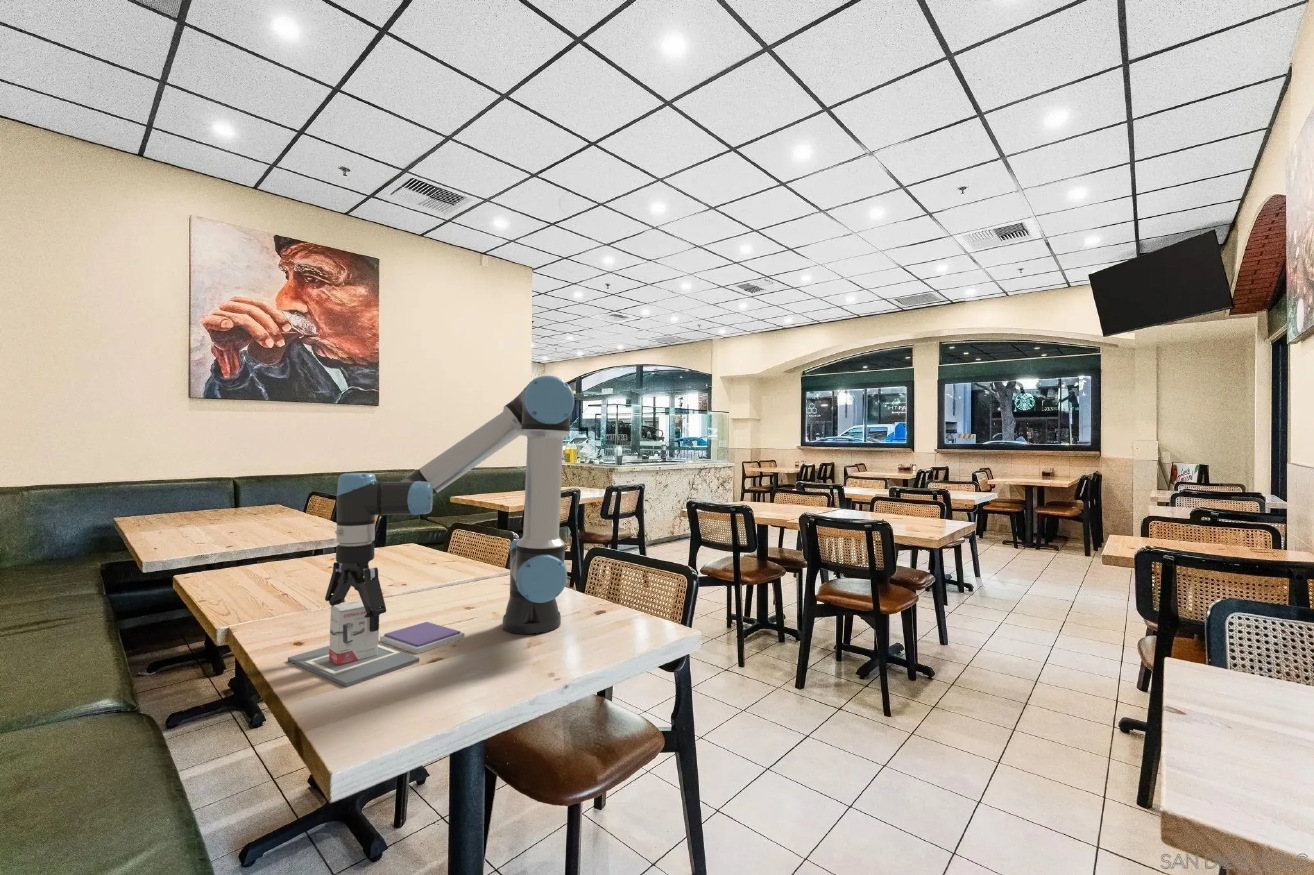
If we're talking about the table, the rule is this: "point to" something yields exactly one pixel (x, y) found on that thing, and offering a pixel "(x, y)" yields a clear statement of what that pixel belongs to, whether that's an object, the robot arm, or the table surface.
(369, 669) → the slate board
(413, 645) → the ink pad
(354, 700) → the table surface
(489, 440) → the robot arm
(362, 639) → the ink box
